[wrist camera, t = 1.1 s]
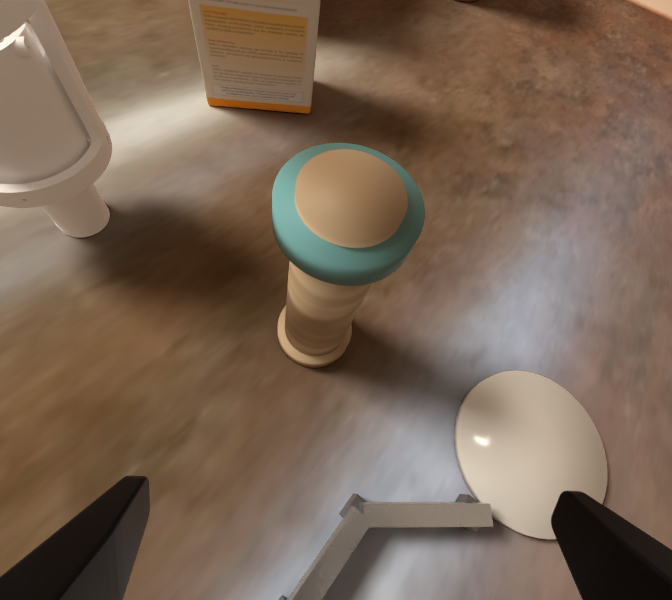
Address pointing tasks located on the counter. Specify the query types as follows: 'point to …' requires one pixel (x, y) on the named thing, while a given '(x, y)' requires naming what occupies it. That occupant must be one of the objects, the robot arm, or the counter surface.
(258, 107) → the supplement box
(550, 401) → the coaster
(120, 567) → the robot arm
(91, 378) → the counter surface
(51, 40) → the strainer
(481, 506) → the rail
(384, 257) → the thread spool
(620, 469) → the counter surface
